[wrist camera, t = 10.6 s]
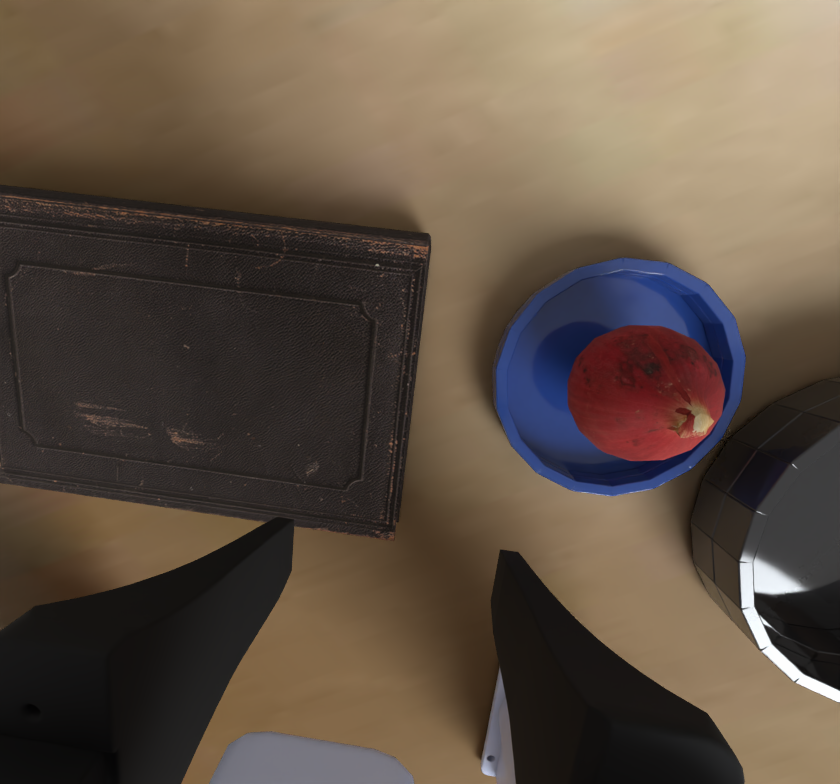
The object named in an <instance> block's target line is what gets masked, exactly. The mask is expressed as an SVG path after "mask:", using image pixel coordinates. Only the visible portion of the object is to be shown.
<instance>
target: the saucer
mask: <svg viewBox="0 0 840 784" xmlns="http://www.w3.org/2000/svg"><path fill="white" fill-rule="evenodd" d="M628 325H646V326H662V327H666V328H669V329H672V330H674V331H676V332H678V333H681V334H683V335H685V336H687V337H690V338H692V339H694V340H696V341H697V342H698V343H699V344H700V345H701V346H702V347H703V349H704V350H705V351H706V352H707V353H708V354H709V355H710V356H711V357H712V359H713V360H714V361H715V362H716V363H717V365H718V367H719V370H720V373H721V377H722V380H723V383H724V387H725V397H724V403H723V410H722V415H721V417H720V418H719V420H718V421H717V423H716V424H715V426H714V427H713V429H712V430H711V432H710V434H709V435H707V436H706V437H705V438H704V439H703V440H702V441H701V442H699V443H698V444H697V445H696V446H695V447H694V448H693V449H692V450H689V451H687V452H684V453H681V454H679V455H676V456H673V457H670V458H668V459H665V460H651V461H629V460H626V459H623V458H620V457H617V456H614V455H611V454H607V453H605V452H603V451H601V450H600V449H598V448H597V447H596V446H595V445H594V444H593V443H592V442H591V441H590V440H589V439H588V438H586V437H585V436H584V435H583V434H582V433H581V432H580V431H579V429H578V427H577V425H576V423H575V421H574V418H573V416H572V414H571V412H570V410H569V407H568V399H567V381H568V378H569V375H570V373H571V370H572V367H573V364H574V361H575V358H576V357H577V356H578V355H579V354H580V353H581V352H582V351H583V350H584V349H585V348H586V347H587V346H588V345H589V344H590V343H591V342H592V340H593V339H594V338H596V337H598V336H601V335H603V334H606V333H608V332H610V331H613V330H615V329H618V328H620V327H624V326H628ZM745 357H746V355H745V352H744V348H743V345H742V341H741V338H740V334H739V330H738V327H737V323H736V320H735V317H734V316H733V314H732V313H731V312H730V311H729V309H728V308H727V307H726V306H725V304H724V303H723V302H722V301H721V299H720V298H719V297H718V296H717V294H716V293H715V292H714V291H713V289H712V288H711V287H710V286H709V285H708V284H707V283H706V282H704V281H702V280H700V279H698V278H697V277H695V276H693V275H691V274H689V273H687V272H685V271H683V270H682V269H680V268H678V267H676V266H674V265H672V264H670V263H667V262H661V261H653V260H644V259H635V258H626V257H623V258H617V259H612V260H608V261H604V262H600V263H596V264H592V265H588V266H583V267H579V268H576V269H573V270H570V271H568V272H566V273H564V274H563V275H561V276H560V277H558V278H556V279H555V280H553V281H551V282H550V283H548V284H547V285H545V286H544V287H542V288H541V289H539V290H538V291H536V292H535V293H533V294H532V295H531V296H530V297H529V298H528V300H527V301H526V302H525V303H524V304H523V305H522V306H521V307H520V309H519V310H518V311H517V312H516V314H515V315H514V316H513V318H512V319H511V321H510V322H509V323H508V325H507V326H506V328H505V330H504V333H503V335H502V337H501V340H500V342H499V345H498V348H497V350H496V355H495V359H494V362H493V366H492V391H493V403H494V407H495V409H496V412H497V414H498V417H499V419H500V422H501V424H502V427H503V429H504V432H505V434H506V436H507V438H508V440H509V443H510V444H511V446H512V447H513V448H514V449H515V450H516V451H517V453H518V454H519V455H520V456H521V457H522V458H523V459H524V460H525V461H526V462H527V463H528V464H529V465H530V467H531V468H532V469H533V470H534V471H535V472H536V473H538V474H539V475H541V476H543V477H545V478H547V479H549V480H551V481H553V482H555V483H557V484H559V485H561V486H563V487H565V488H567V489H569V490H572V491H576V492H584V493H591V494H598V495H605V496H617V495H623V494H628V493H634V492H640V491H645V490H651V489H652V488H653V489H654V488H656V487H658V486H660V485H662V484H664V483H666V482H668V481H670V480H672V479H674V478H676V477H678V476H680V475H681V474H683V473H685V472H687V471H689V470H690V469H692V468H693V467H694V466H695V465H696V464H697V463H698V462H699V461H700V460H701V459H702V458H703V457H704V456H705V455H706V454H707V453H708V452H709V451H710V450H711V449H712V448H713V447H714V446H715V445H716V444H717V443H718V442H719V441H720V440H721V438H723V436H724V434H725V432H726V430H727V428H728V426H729V424H730V422H731V420H732V418H733V416H734V414H735V412H736V410H737V408H738V406H739V404H740V402H741V397H742V389H743V380H744V371H745V362H746V358H745Z"/></svg>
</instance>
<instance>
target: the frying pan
mask: <svg viewBox="0 0 840 784" xmlns="http://www.w3.org/2000/svg"><path fill="white" fill-rule="evenodd" d="M691 535H692V549H693V562H694V564H695V567H696V569H697V571H698V573H699V575H700V577H701V579H702V581H703V583H704V585H705V587H706V589H707V591H708V594H709V596H710V597H711V598H712V600H713V601H714V602H715V603H716V604H717V605H718V606H719V607H720V608H721V609H722V610H723V611H724V612H725V614H726V615H727V616H728V617H729V618H730V619H731V620H732V621H733V622H734V623H735V624H736V625H737V626H738V628H739V629H740V630H741V631H742V632H743V633H744V634H745V635H746V636H747V637H748V638H749V639H750V641H751V642H752V643H753V644H754V645H755V646H756V647H757V648H758V649H759V650H760V651H761V652H762V653H763V654H764V655H765V656H766V657H767V658H768V659H769V660H770V661H771V662H772V663H774V664H775V665H776V666H777V667H778V668H779V669H780V670H781V671H782V672H783V673H784V674H785V675H786V676H787V677H788V678H789V679H791V680H792V681H793V682H795V683H797V684H799V685H801V686H803V687H805V688H808V689H810V690H812V691H814V692H816V693H819V694H821V695H823V696H825V697H827V698H829V699H832V700H834V701H836V702H838V703H840V377H838V378H832V379H826V380H823V381H820V382H818V383H816V384H814V385H811V386H809V387H807V388H805V389H803V390H800V391H798V392H796V393H794V394H792V395H789V396H787V397H785V398H783V399H781V400H779V401H776V402H774V403H773V404H771V405H770V406H769V407H767V408H766V409H765V410H764V411H763V412H761V413H760V414H759V415H758V416H756V417H755V418H754V419H753V420H752V421H750V422H749V423H748V424H747V425H746V426H744V427H743V428H742V429H741V430H739V431H738V432H737V433H736V434H735V435H733V436H732V438H731V439H730V440H729V441H728V443H727V444H726V446H725V447H724V448H723V450H722V451H721V453H720V454H719V456H718V457H717V459H716V460H715V462H714V463H713V464H712V466H711V467H710V469H709V470H708V472H707V473H706V475H705V476H704V479H703V480H702V484H701V487H700V490H699V494H698V497H697V501H696V504H695V507H694V511H693V514H692V518H691Z"/></svg>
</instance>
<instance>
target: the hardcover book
mask: <svg viewBox="0 0 840 784" xmlns="http://www.w3.org/2000/svg"><path fill="white" fill-rule="evenodd" d="M430 253H431V236H430V235H429V234H428V233H419V232H410V231H401V230H392V229H384V228H375V227H366V226H357V225H349V224H340V223H331V222H322V221H313V220H305V219H296V218H287V217H278V216H269V215H261V214H252V213H243V212H234V211H225V210H217V209H208V208H199V207H190V206H181V205H173V204H164V203H155V202H146V201H138V200H129V199H120V198H111V197H102V196H94V195H85V194H76V193H67V192H58V191H50V190H41V189H32V188H23V187H14V186H6V185H0V483H4V484H11V485H18V486H25V487H31V488H38V489H45V490H52V491H58V492H65V493H72V494H79V495H85V496H92V497H99V498H106V499H112V500H119V501H126V502H133V503H139V504H146V505H153V506H160V507H166V508H173V509H180V510H187V511H193V512H200V513H207V514H214V515H220V516H227V517H234V518H241V519H247V520H254V521H261V522H268V521H270V520H272V519H274V518H276V517H282V518H289V519H294V526H295V527H301V528H308V529H315V530H322V531H328V532H335V533H342V534H349V535H355V536H362V537H369V538H376V539H382V540H389V541H394V539H395V531H396V522H398V521H399V514H400V506H401V497H402V489H403V480H404V472H405V464H406V455H407V447H408V438H409V430H410V421H411V413H412V405H413V396H414V388H415V379H416V371H417V363H418V354H419V346H420V337H421V329H422V320H423V312H424V304H425V295H426V287H427V278H428V270H429V262H430Z"/></svg>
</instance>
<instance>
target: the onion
mask: <svg viewBox="0 0 840 784" xmlns="http://www.w3.org/2000/svg"><path fill="white" fill-rule="evenodd" d="M724 397H725V387H724V383H723V380H722V377H721V373H720V370H719V367H718V365H717V363H716V362H715V361H714V360H713V359H712V357H711V356H710V355H709V354H708V353H707V352H706V351H705V350H704V349H703V347H702V346H701V345H700V344H699V343H698V342H697V341H696V340H694V339H692V338H690V337H687V336H685V335H683V334H681V333H678V332H676V331H674V330H672V329H669V328H666V327H662V326H646V325H628V326H624V327H620V328H618V329H615V330H613V331H610V332H608V333H606V334H603V335H601V336H598V337H596V338H594V339H593V340H592V342H591V343H590V344H589V345H588V346H587V347H586V348H585V349H584V350H583V351H582V352H581V353H580V354H579V355H578V356H577V357H576V358H575V361H574V364H573V367H572V370H571V373H570V375H569V378H568V381H567V399H568V407H569V410H570V412H571V414H572V416H573V418H574V421H575V423H576V425H577V427H578V429H579V431H580V432H581V433H582V434H583V435H584V436H585V437H586V438H588V439H589V440H590V441H591V442H592V443H593V444H594V445H595V446H596V447H597V448H598V449H600V450H601V451H603V452H605V453H607V454H611V455H614V456H617V457H620V458H623V459H626V460H629V461H651V460H665V459H668V458H670V457H673V456H676V455H679V454H681V453H684V452H687V451H689V450H692V449H693V448H694V447H695V446H696V445H697V444H698V443H699V442H701V441H702V440H703V439H704V438H705V437H706V436H707V435H709V434H710V432H711V430H712V429H713V427H714V426H715V424H716V423H717V421H718V420H719V418H720V417H721V415H722V410H723V403H724Z"/></svg>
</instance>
